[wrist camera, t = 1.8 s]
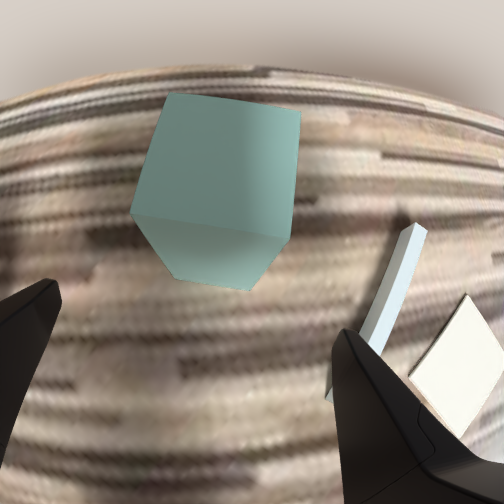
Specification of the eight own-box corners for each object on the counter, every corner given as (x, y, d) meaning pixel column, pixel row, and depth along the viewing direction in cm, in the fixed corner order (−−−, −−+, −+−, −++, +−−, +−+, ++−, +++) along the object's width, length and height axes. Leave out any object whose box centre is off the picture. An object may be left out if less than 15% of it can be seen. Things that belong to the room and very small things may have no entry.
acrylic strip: (339, 405, 20) (351, 412, 18) (325, 399, 20) (336, 405, 18) (412, 239, 24) (427, 230, 22) (401, 231, 24) (415, 222, 22)
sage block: (249, 290, 21) (290, 238, 10) (174, 278, 21) (129, 213, 9) (259, 220, 23) (301, 111, 11) (188, 208, 22) (169, 92, 11)
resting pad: (457, 438, 20) (459, 438, 20) (407, 377, 21) (409, 377, 21) (506, 360, 22) (508, 360, 22) (465, 295, 23) (467, 295, 23)
